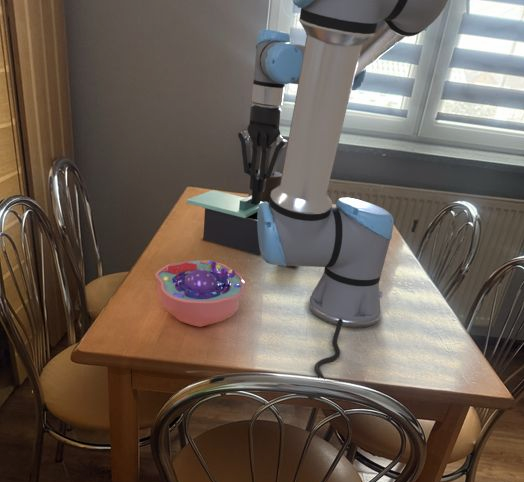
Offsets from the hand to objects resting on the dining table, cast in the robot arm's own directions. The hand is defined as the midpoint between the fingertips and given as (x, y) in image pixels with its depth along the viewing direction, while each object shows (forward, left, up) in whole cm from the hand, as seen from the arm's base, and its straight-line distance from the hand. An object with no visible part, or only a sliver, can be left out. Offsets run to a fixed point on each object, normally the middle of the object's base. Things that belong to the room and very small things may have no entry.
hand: (255, 203), depth 135 cm
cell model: (-46, -10, -11) cm, 49 cm away
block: (-7, -14, -11) cm, 19 cm away
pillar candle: (+25, +8, -11) cm, 28 cm away
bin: (0, +3, -11) cm, 12 cm away
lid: (0, +8, -2) cm, 8 cm away
